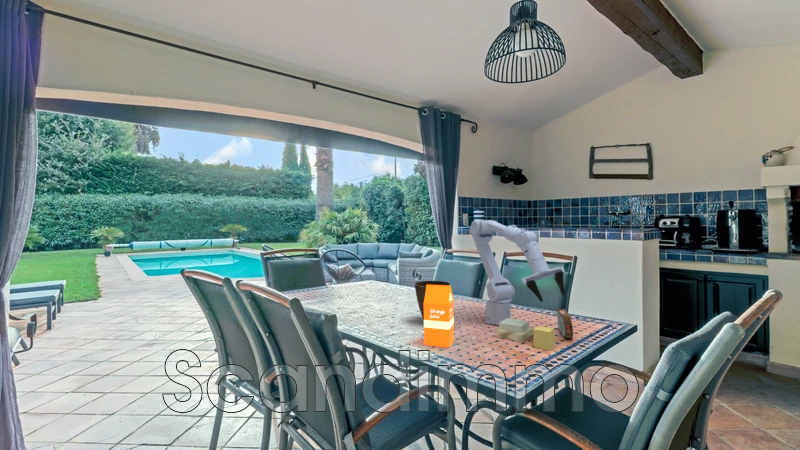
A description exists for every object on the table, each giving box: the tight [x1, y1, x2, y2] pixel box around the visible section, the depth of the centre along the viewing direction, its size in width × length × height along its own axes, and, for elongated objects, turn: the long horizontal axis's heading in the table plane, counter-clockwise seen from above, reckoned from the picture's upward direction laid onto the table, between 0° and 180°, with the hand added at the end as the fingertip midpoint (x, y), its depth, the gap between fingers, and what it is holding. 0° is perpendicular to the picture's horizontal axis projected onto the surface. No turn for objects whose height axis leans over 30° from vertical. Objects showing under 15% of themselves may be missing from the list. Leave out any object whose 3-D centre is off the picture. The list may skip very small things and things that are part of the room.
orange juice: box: [423, 285, 455, 348], centre depth 123 cm, size 8×9×20 cm
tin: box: [556, 308, 574, 339], centre depth 129 cm, size 15×3×8 cm, turn 166°
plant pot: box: [414, 280, 451, 321], centre depth 148 cm, size 15×15×16 cm
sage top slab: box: [498, 318, 530, 334], centre depth 128 cm, size 8×8×2 cm
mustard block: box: [533, 325, 555, 351], centre depth 117 cm, size 5×5×6 cm
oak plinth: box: [494, 326, 534, 343], centre depth 128 cm, size 10×10×2 cm
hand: (552, 298), depth 120 cm, fingers open, 7 cm apart
